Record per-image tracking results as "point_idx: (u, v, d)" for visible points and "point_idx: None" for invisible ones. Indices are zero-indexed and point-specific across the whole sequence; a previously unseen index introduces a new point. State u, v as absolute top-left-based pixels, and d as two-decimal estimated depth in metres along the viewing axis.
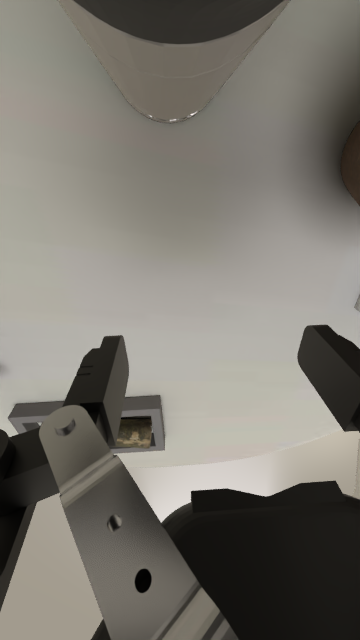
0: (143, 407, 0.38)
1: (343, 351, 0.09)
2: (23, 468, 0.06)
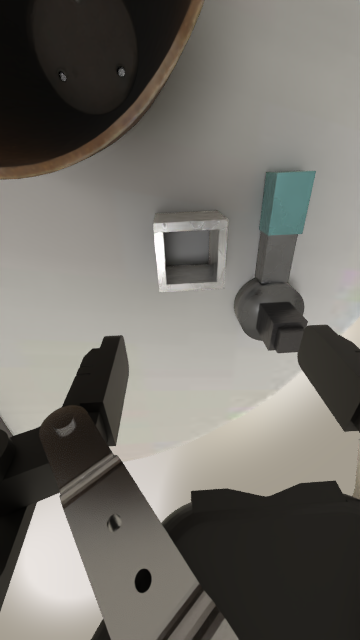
0: None
1: (343, 351, 0.09)
2: (23, 468, 0.06)
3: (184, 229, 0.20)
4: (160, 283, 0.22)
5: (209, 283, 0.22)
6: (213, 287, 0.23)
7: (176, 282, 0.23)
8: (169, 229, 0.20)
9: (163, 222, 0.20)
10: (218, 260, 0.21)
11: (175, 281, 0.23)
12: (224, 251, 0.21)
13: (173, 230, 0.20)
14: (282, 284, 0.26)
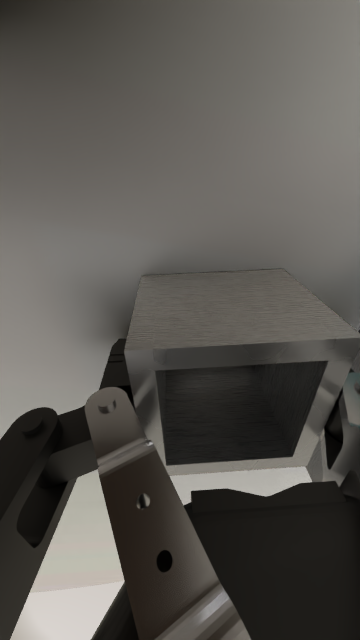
0: None
1: None
2: (67, 449, 0.06)
3: (222, 363, 0.06)
4: None
5: (272, 460, 0.09)
6: (281, 465, 0.09)
7: (191, 451, 0.09)
8: (176, 364, 0.06)
9: (157, 343, 0.06)
10: (306, 422, 0.08)
11: (188, 447, 0.09)
12: (328, 405, 0.07)
13: (188, 366, 0.06)
14: None
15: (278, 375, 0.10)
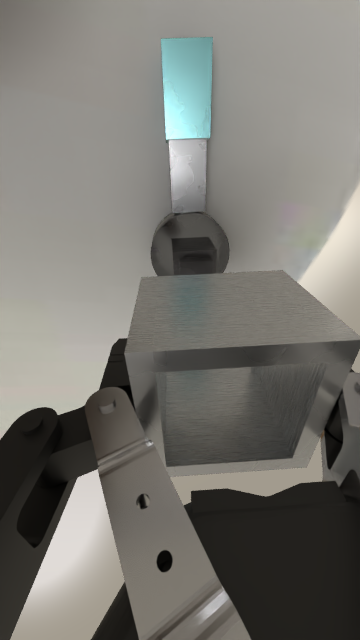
0: None
1: None
2: (67, 449, 0.06)
3: (223, 365, 0.06)
4: None
5: (272, 461, 0.09)
6: (281, 466, 0.09)
7: (191, 453, 0.09)
8: (176, 366, 0.06)
9: (157, 345, 0.06)
10: (306, 424, 0.08)
11: (188, 448, 0.09)
12: (328, 406, 0.07)
13: (188, 368, 0.06)
14: (197, 213, 0.20)
15: (278, 376, 0.10)
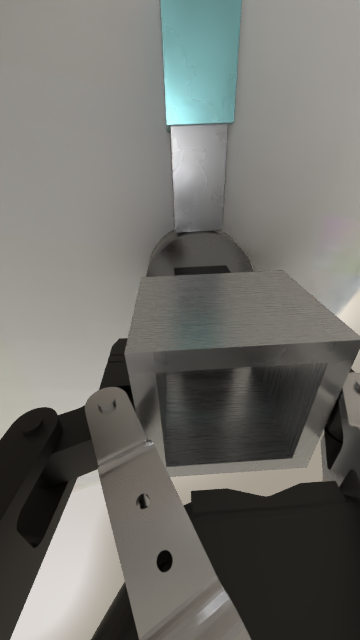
0: None
1: None
2: (67, 449, 0.06)
3: (223, 365, 0.06)
4: None
5: (272, 461, 0.09)
6: (281, 466, 0.09)
7: (191, 453, 0.09)
8: (176, 366, 0.06)
9: (158, 345, 0.06)
10: (305, 423, 0.08)
11: (188, 448, 0.09)
12: (328, 406, 0.07)
13: (189, 368, 0.06)
14: (211, 233, 0.14)
15: (278, 376, 0.10)
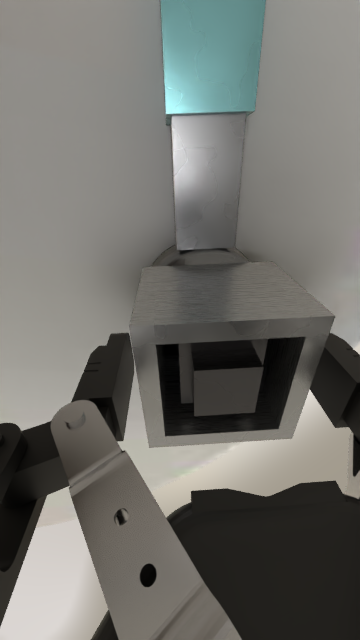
0: None
1: (334, 349, 0.09)
2: (34, 462, 0.06)
3: (214, 338, 0.07)
4: (151, 434, 0.10)
5: (260, 432, 0.10)
6: (269, 437, 0.10)
7: (188, 425, 0.10)
8: (174, 339, 0.07)
9: (158, 320, 0.07)
10: (289, 395, 0.09)
11: (185, 421, 0.10)
12: (308, 378, 0.08)
13: (184, 341, 0.07)
14: (222, 251, 0.12)
15: (267, 357, 0.11)
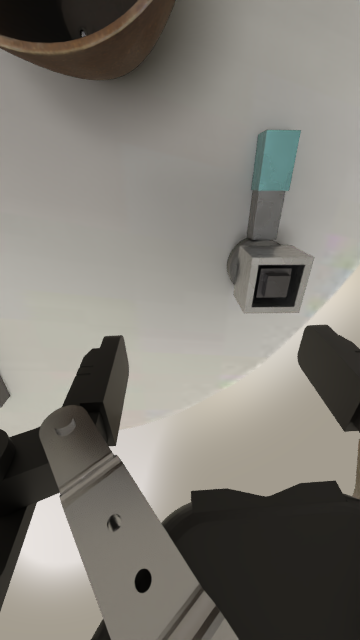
0: None
1: (343, 351, 0.09)
2: (23, 468, 0.06)
3: (276, 263, 0.24)
4: (246, 306, 0.26)
5: (287, 308, 0.26)
6: (290, 311, 0.26)
7: (259, 305, 0.26)
8: (264, 263, 0.24)
9: (260, 257, 0.23)
10: (298, 289, 0.25)
11: (257, 304, 0.26)
12: (305, 282, 0.25)
13: (267, 263, 0.24)
14: (271, 240, 0.28)
15: None
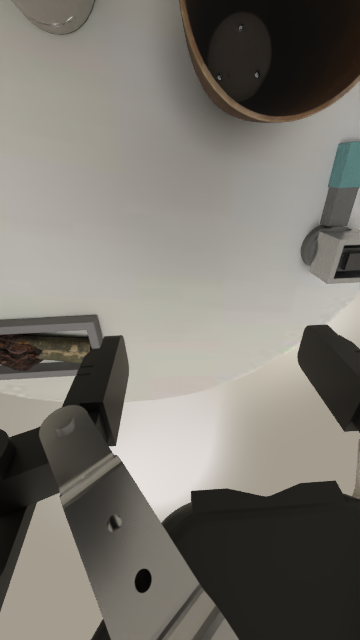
0: (79, 321, 0.42)
1: (343, 351, 0.09)
2: (23, 468, 0.06)
3: (357, 243, 0.31)
4: (330, 277, 0.34)
5: None
6: None
7: (338, 277, 0.34)
8: (348, 243, 0.31)
9: (345, 239, 0.31)
10: None
11: (336, 276, 0.34)
12: None
13: (351, 244, 0.31)
14: None
15: None
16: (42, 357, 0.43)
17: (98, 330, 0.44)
